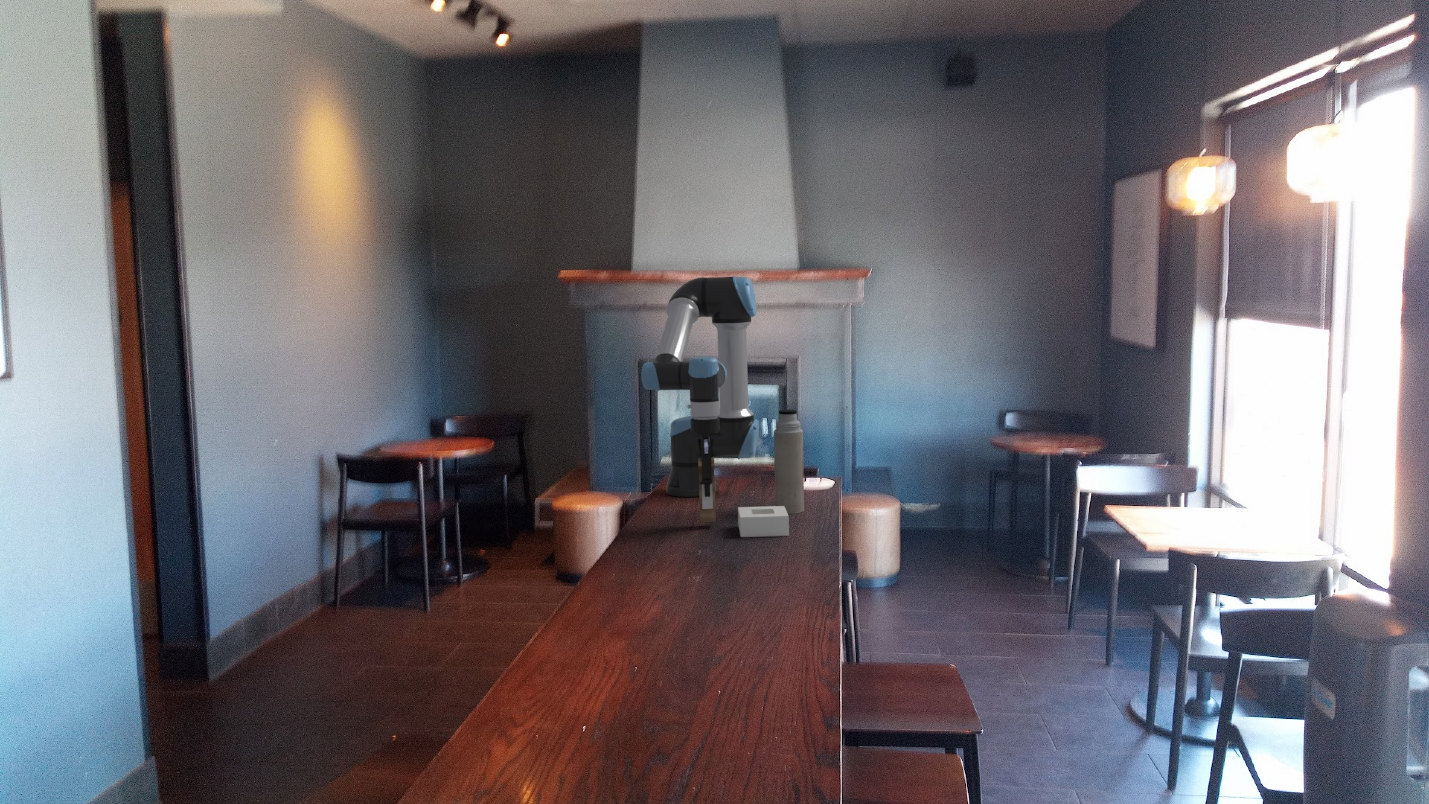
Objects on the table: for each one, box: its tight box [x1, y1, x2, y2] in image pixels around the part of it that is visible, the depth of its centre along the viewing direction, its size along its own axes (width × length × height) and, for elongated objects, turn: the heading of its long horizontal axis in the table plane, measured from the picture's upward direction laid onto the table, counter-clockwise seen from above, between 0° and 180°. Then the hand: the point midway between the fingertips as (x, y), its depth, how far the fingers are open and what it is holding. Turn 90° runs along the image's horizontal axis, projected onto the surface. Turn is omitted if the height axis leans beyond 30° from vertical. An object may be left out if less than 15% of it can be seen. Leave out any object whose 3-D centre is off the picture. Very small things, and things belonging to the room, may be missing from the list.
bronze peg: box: [698, 458, 717, 523], centre depth 274 cm, size 4×4×16 cm
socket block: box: [737, 505, 790, 538], centre depth 269 cm, size 12×12×5 cm
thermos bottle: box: [773, 409, 805, 515], centre depth 291 cm, size 8×8×28 cm
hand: (707, 506), depth 275 cm, fingers closed on bronze peg, 4 cm apart
